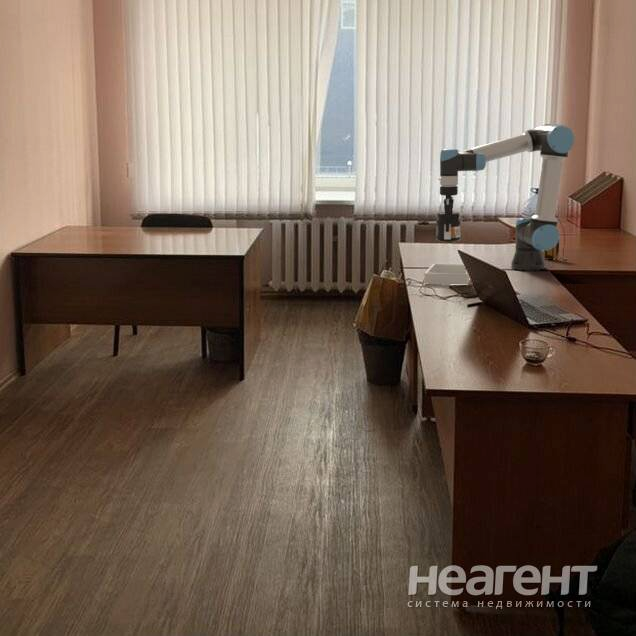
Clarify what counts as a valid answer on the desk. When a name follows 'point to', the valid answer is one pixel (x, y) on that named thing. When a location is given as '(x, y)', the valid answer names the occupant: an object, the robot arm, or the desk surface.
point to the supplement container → (454, 227)
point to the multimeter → (553, 251)
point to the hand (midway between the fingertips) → (448, 237)
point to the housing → (446, 274)
